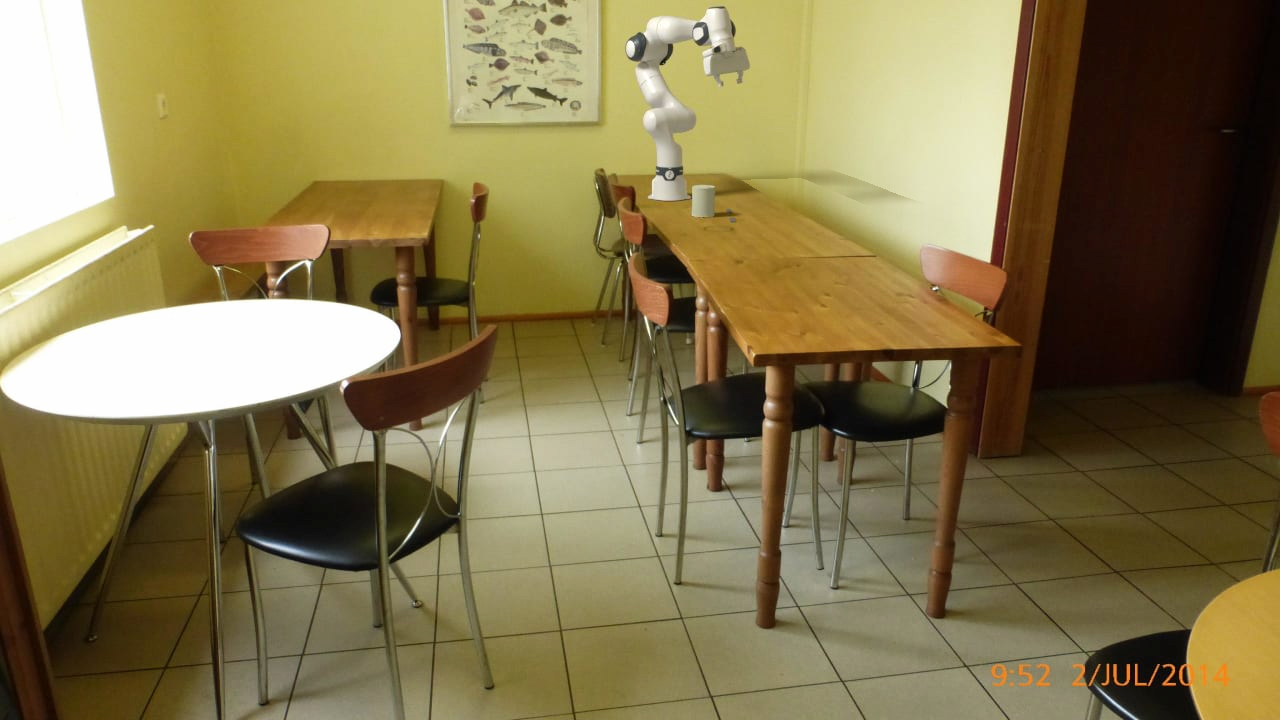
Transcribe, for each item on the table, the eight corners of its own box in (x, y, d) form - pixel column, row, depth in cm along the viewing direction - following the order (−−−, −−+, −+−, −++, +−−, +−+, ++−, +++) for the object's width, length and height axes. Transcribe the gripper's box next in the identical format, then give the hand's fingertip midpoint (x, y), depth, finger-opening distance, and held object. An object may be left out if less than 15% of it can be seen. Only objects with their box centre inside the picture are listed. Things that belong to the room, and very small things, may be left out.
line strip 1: (726, 209, 383) (726, 208, 383) (730, 209, 383) (730, 208, 383) (727, 212, 376) (727, 212, 376) (731, 212, 376) (731, 212, 376)
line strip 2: (729, 218, 364) (729, 217, 363) (734, 218, 363) (734, 217, 363) (731, 222, 356) (731, 221, 356) (735, 222, 356) (735, 221, 356)
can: (706, 218, 364) (707, 187, 360) (686, 216, 369) (687, 185, 365) (719, 215, 371) (719, 185, 367) (699, 213, 376) (700, 183, 372)
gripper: (739, 47, 372) (746, 83, 374) (698, 53, 362) (705, 89, 364) (749, 44, 366) (756, 79, 369) (708, 49, 356) (715, 86, 359)
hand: (730, 84), depth 367 cm, fingers open, 8 cm apart
